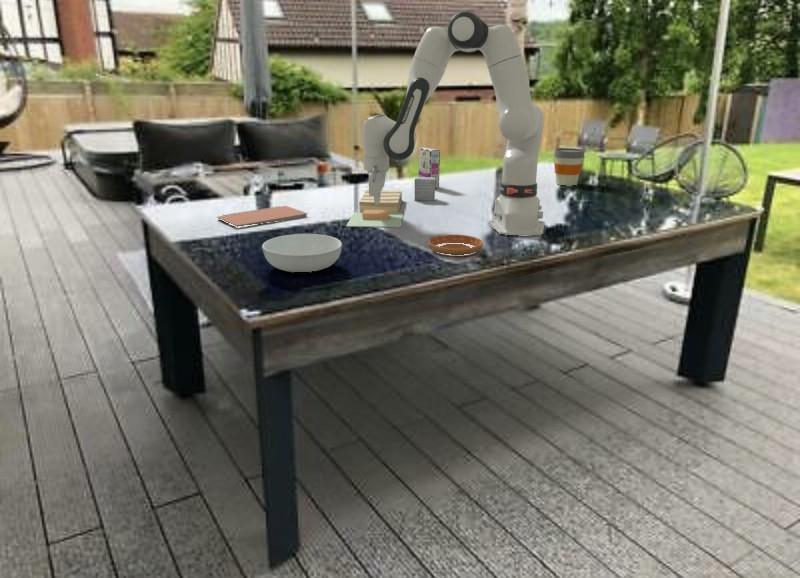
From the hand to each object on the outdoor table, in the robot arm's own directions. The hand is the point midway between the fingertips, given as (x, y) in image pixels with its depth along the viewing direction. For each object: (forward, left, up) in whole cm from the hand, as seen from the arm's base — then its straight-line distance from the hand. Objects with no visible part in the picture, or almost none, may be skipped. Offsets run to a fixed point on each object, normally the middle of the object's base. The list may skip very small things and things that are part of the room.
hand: (377, 203), depth 220 cm
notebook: (-2, +41, -6) cm, 41 cm away
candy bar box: (+58, -17, -5) cm, 61 cm away
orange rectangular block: (0, +1, -3) cm, 3 cm away
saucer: (-38, -27, -6) cm, 47 cm away
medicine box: (+31, -16, -5) cm, 35 cm away
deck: (+18, 0, -5) cm, 19 cm away
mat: (-3, 0, -5) cm, 6 cm away
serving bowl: (-57, +14, -5) cm, 59 cm away
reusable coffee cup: (+67, -78, -5) cm, 103 cm away
